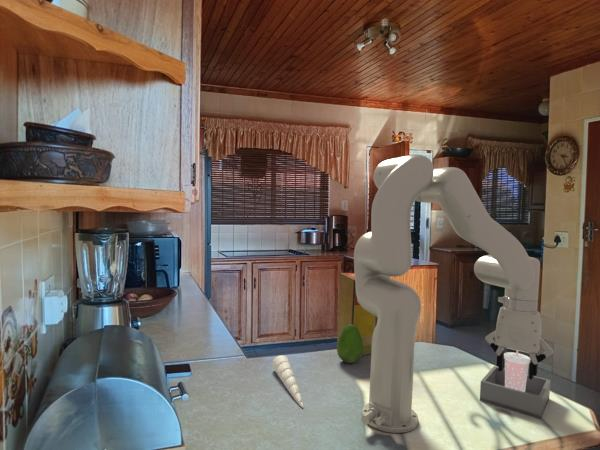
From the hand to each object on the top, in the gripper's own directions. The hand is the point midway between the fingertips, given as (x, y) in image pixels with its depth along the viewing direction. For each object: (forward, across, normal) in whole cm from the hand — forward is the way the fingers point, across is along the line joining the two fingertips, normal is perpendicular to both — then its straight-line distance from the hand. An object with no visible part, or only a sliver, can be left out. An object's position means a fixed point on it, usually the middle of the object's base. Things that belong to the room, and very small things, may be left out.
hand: (516, 373), depth 105 cm
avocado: (+7, -45, -8) cm, 46 cm away
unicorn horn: (+8, -48, -33) cm, 59 cm away
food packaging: (+7, -50, +4) cm, 51 cm away
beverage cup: (+5, 0, 0) cm, 5 cm away
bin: (+7, 0, 0) cm, 7 cm away
